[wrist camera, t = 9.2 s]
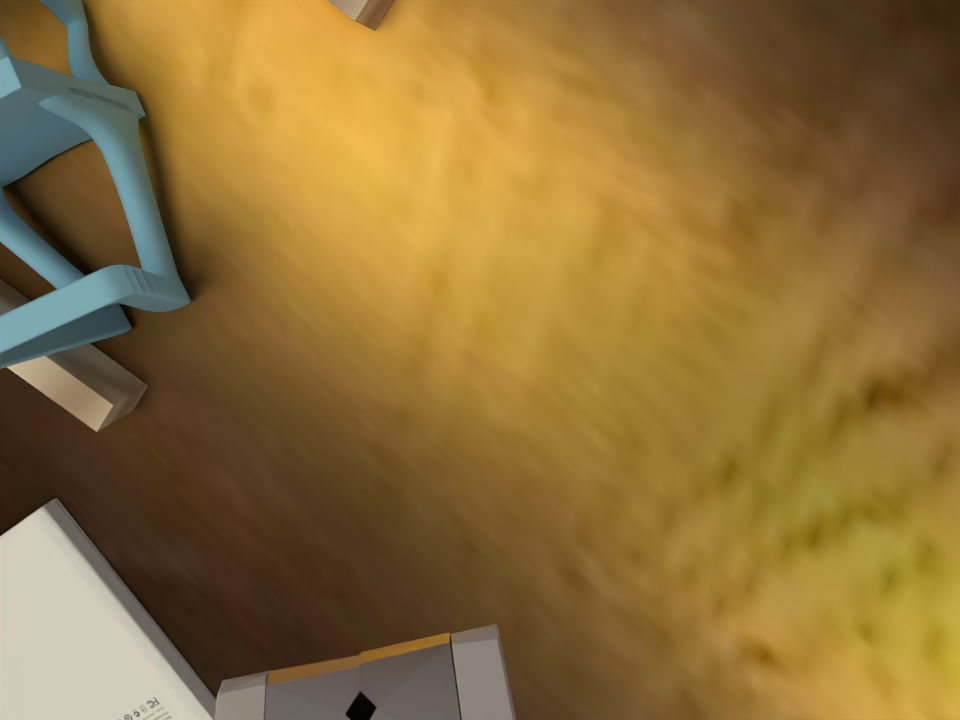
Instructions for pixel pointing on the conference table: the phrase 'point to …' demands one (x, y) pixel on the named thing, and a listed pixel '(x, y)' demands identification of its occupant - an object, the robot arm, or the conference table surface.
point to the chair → (114, 128)
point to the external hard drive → (82, 635)
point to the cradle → (89, 372)
